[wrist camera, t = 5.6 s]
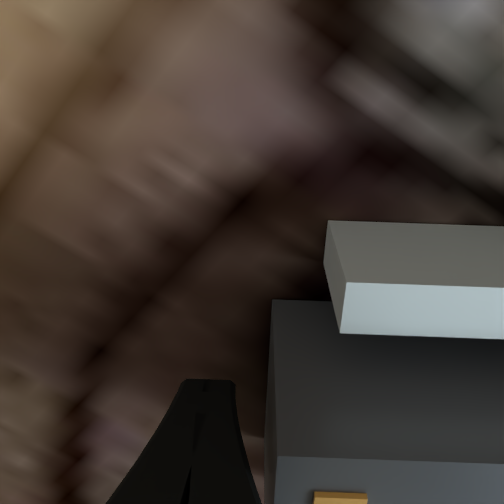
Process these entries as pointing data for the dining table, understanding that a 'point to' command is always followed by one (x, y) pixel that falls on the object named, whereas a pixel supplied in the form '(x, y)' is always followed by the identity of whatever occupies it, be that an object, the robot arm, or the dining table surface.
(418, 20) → the dining table surface
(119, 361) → the dining table surface
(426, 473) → the grey cube with stripe
